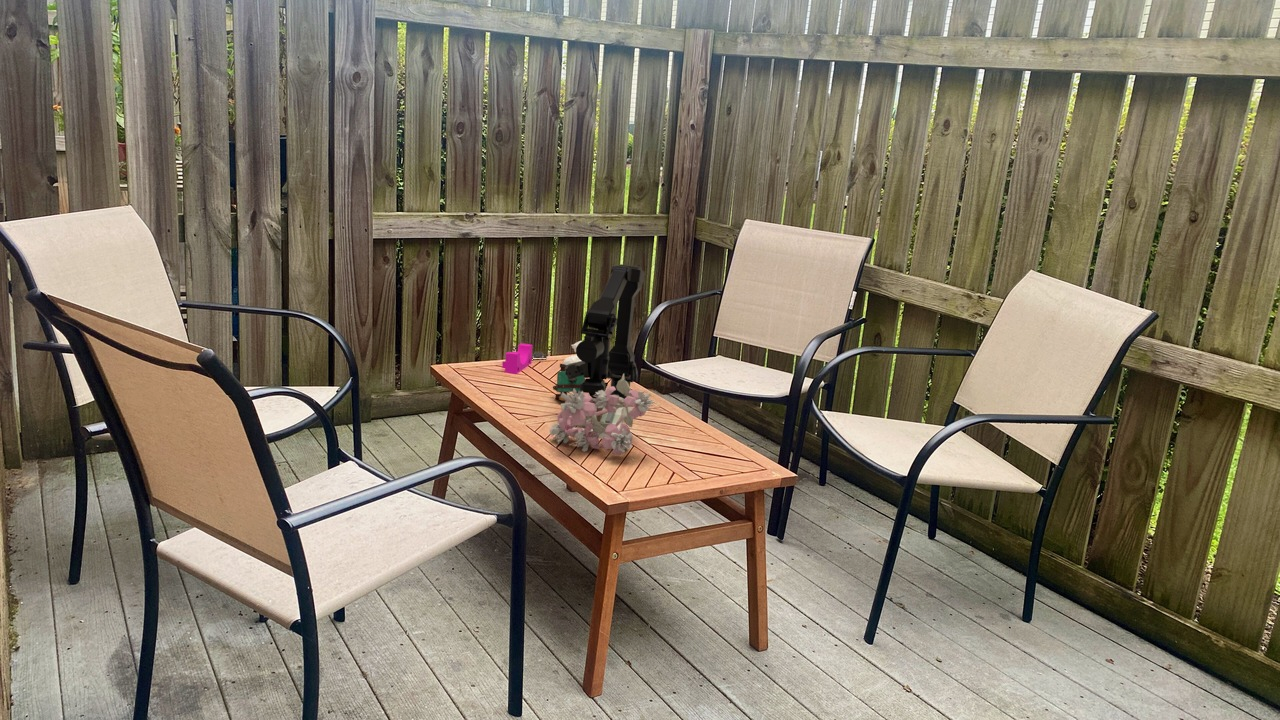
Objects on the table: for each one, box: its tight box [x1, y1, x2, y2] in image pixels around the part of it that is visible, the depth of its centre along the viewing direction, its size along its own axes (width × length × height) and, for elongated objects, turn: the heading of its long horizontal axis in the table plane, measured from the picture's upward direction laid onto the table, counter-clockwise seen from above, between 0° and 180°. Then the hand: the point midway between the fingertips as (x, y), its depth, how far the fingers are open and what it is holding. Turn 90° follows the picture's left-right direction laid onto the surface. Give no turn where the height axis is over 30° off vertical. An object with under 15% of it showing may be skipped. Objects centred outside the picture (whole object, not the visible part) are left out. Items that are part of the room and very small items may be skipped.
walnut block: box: [591, 401, 603, 422], centre depth 260 cm, size 5×5×4 cm
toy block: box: [501, 342, 533, 375], centre depth 308 cm, size 15×6×8 cm, turn 168°
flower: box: [549, 374, 655, 456], centre depth 241 cm, size 20×22×25 cm
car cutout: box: [532, 351, 548, 362], centre depth 322 cm, size 15×7×4 cm, turn 120°
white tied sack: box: [562, 340, 583, 365], centre depth 308 cm, size 12×8×11 cm, turn 114°
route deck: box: [557, 391, 624, 440], centre depth 262 cm, size 25×16×5 cm, turn 176°
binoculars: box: [552, 363, 586, 402], centre depth 279 cm, size 9×11×10 cm
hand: (593, 409), depth 264 cm, fingers closed
